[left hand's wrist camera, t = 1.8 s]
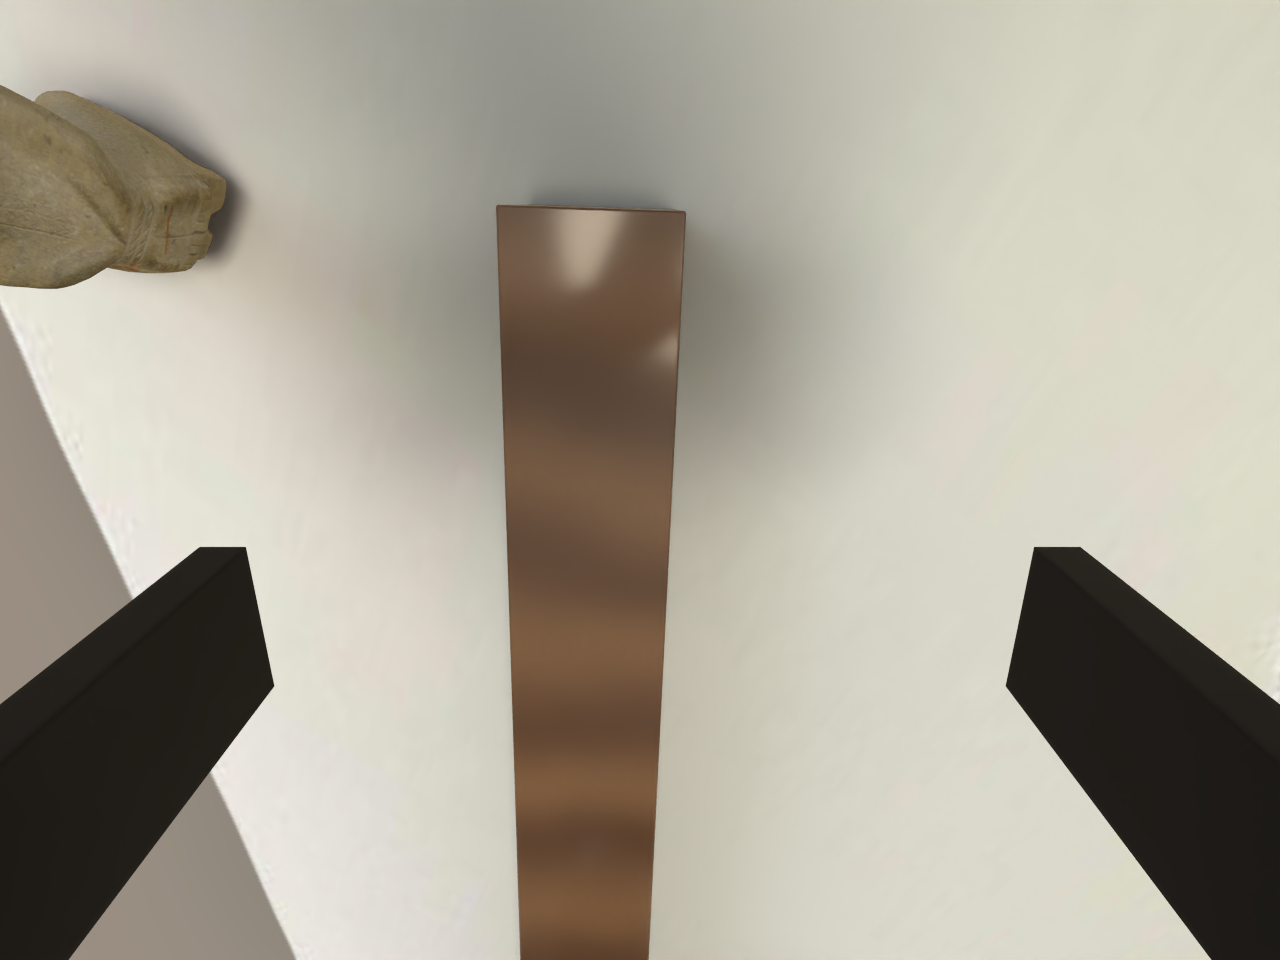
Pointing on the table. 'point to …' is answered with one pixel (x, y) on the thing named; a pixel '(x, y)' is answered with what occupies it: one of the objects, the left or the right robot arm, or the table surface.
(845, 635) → the table surface
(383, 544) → the table surface
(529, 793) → the beam
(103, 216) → the sculpture
